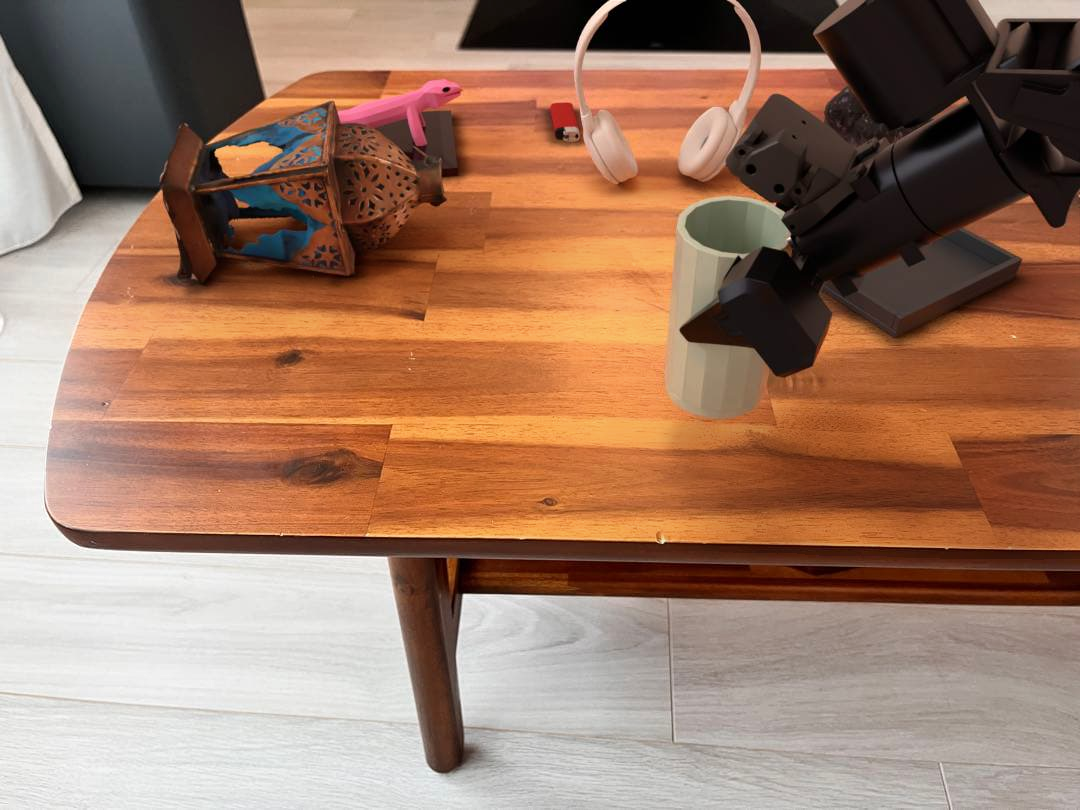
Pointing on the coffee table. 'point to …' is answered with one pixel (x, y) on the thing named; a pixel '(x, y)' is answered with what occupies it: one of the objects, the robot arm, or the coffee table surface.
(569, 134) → the lighter
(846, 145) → the robot arm
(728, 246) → the tumbler
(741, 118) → the headphones
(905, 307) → the tray
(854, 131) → the crystal cluster
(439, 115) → the lizard figurine
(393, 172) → the lantern
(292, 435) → the coffee table surface
